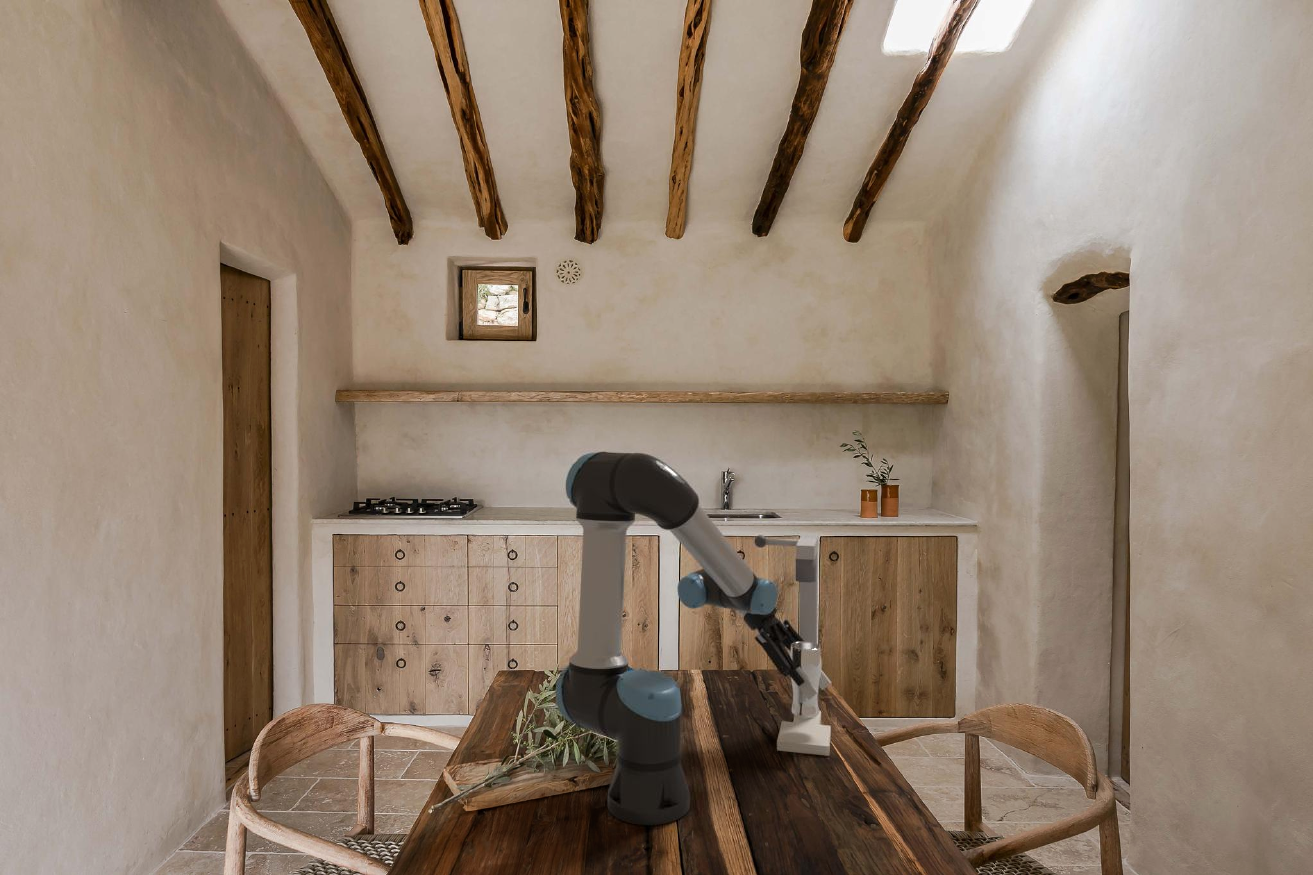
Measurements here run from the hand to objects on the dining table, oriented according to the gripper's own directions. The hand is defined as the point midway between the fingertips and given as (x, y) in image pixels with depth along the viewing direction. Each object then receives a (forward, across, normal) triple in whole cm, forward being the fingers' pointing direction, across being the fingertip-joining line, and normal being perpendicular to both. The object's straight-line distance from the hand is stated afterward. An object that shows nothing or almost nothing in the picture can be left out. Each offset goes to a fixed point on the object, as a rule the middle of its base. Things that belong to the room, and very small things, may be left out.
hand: (820, 690), depth 168 cm
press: (+2, -3, -15) cm, 15 cm away
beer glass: (+2, 0, -6) cm, 7 cm away
